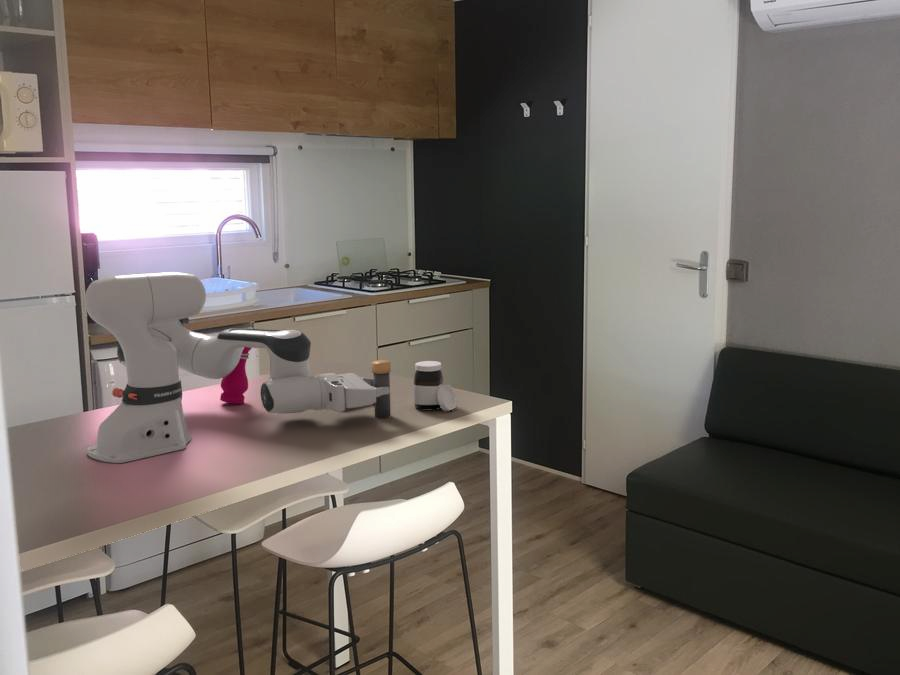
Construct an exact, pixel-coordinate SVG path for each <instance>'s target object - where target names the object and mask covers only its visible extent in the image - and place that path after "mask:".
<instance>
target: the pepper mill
mask: <svg viewBox="0 0 900 675" xmlns="http://www.w3.org/2000/svg"><path fill="white" fill-rule="evenodd" d="M251 350H252V348H251V347H244V349H243V351H242V354H241V357H240V360H239V362H238V364H237V366H236V367H235V369H234V370H233V371H232V372H231V373H230V374H229V375H227V376H226V377H223V378H221V382H220V388H221V390H222V391H223V392H222V393H220V398H219V400H220V401H222V402H223V403H227V404H237V405H241V404H244V403H245V395H244V394H245V393H246V392H247V391H248V389H249V380H248V376H247V372H246V364H247V360H248V359H250V358H249V356H250V353H249V352H250V351H251Z"/></svg>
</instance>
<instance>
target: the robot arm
mask: <svg viewBox="0 0 900 675" xmlns="http://www.w3.org/2000/svg"><path fill="white" fill-rule="evenodd" d="M206 293H207V292H206V288H205V285H204V283H203V282H202V281H201V279H200V278H199V277H198V276H197V275H195V274H193V273H186V272H179V271H167V272H151V273H136V274H134V273H133V274H120V275H111V276H108V277H104V278H100V279H96V280H93V281H91V283H90V284H89V285H88V287H87V289H86V291H85V294H84V306H85V307H84V308H85V310H86V312H87V314H88V316H89V317H90V319H91V320H92V321H93V322H95V323H96V324H98V325H100V326H101V327H103V328H104V329H106V330H107V331H108V332H110V334H112V336H113V337H114V338H115V339H116V340H117V341H115V343H114V344H115V346H116V347H117V349H116V355H117V358H118V362H119V363H120V364H122V365H123V367H125V368H126V369H125V370H126V377H127V383H126V386H125V388H124V389H122V388H119V387H114V388H113V389H112V391H111V395H112V396H113V397H115V398H118V399H119V398H121V403H120V404H118V406H117V407H116V408H115V409H114V410H113V411H112V412H111V413H110V414H109V415H108V416H107V417H106V418H105V419H104V420H103V421H102V422H101V423H100V424H99V426H98V430H97V437H96V439H97V440H96V444H94V445H92V446H89V447H87V449H86V455H87V456H89V457H90V458H92V459H94V460H97V461H101V462H104V463H113V464H121V463H122V464H123V463H128V462H132V461H136V460H141V459H146V458H151V457H154V456H158V455H163V454H167V453H171V452H175V451H180V450H181V451H182V450H184V449H186V448H187V444H188V443H189V442H190V441H191V440H192V437H191V434H190V432H189V430H188V426H187V423H186V419H185V418H186V417H185V415H184V410H183V405H182V404H183V403H182V399H183V388H182V380H181V379H180V374H179V369H181V370H183V371H185V372H188V373H190V374H192V375H197V376H199V377H202V378H204V379H205V378H206V379H210V380H220V379H223V377H226V376H227V375H229V374H230V373H231V372H232V371H233V370H234V369H235V367H236V366H237V364H238V362H239V360H240V357H241V354H242V351H243V349H244V347H251V349H252V348H253V349H265V350H266V351H267V353H268V355H269V379H268V381H265V382H263V383H262V384H261V385H260V399H261V402H262V404H261V405H262V407H263V408H264V409H265V412H268V413H270V414H280V415H281V414H282V415H283V414H285V415H287V414H297V413H298V414H299V413H304V412H306V411H310V410H311V411H312V410H313V411H325V410H327V411H334V412H338V413H339V412H340V413H341V412H345V410H346V409H355V408H362V407H366V406H371V405H373V404H374V403H376V397H379V396H381V395H385V394H389V393H390V394H391V387H390V388H389V387H388V386H381V387H379V388H373V387H372V386H374V377H362V376H361V377H360V376H359V375H358V374H356V373H355V372H347V373H341V374H336V373H335V372H329V373H327V372H326V373H319V374H318V373H317V374H312V375H310V354H311V346H312V345H311V344H312V343H311V341H310V339H309V338H308V337H307V336H306V334H305V333H304V332H302V331H301V330H298V329H263V328H262V329H261V328H249V327H247V328H246V327H243V328H240V327H238V328H237V327H234V328H233V327H232V328H228V329H224V330H222V331H220V332H219V333H218V335H211V334H206V333H201V332H196V331H192V330H190V329H188V328H186V327H185V325H187V324H189V323H190V319H189V318H190V317H193V316H197V315H199V314H200V313H201V312H202V310H203V308H204V306H205V304H206V300H207V299H206V298H207V294H206ZM309 375H310V376H309Z"/></svg>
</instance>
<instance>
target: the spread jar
mask: <svg viewBox="0 0 900 675" xmlns="http://www.w3.org/2000/svg"><path fill="white" fill-rule="evenodd" d="M414 365H415V367H414V368H415V372H414V375H413V403H414V407H415V408H416V409H417V408H419V409H418V410H420V409H437V408H440V407H441V408H440V409H441V410H443V411H445V412H451V411H450V410H449V408H452V409H453V408H455V409H456V407H457V405H458V404H457V403H458V398H457V394H456V391H455V389H454V388H453V387H452V385H449V384H444V373H443V371H442V363H441V362H440V361H436V360H435V361H434V360H425V361H419V362H418V361H417V362H416V363H415V364H414ZM437 410H438V409H437Z"/></svg>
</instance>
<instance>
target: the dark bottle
mask: <svg viewBox="0 0 900 675" xmlns="http://www.w3.org/2000/svg"><path fill="white" fill-rule="evenodd" d="M391 368H392V362H391V361H390V360H388V359H387V360H386V359H379V360H374V361H372V362H371V373H373V378H374V388H379V387H381V386H388V387H389V388H390V389H391V385H390V384H391V383H390V382H391V379H390V376H391V375H390V373H391V372H392V369H391ZM373 406H374V417H375V418H376V417H377V418H376V419H387V418H386V417H389V416H390V415H391V416H392V414H391V392H390V393H389V394H385V395H381V396H379V397H376V403H374V405H373ZM391 416H390V417H391ZM390 417H389V418H390Z"/></svg>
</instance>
